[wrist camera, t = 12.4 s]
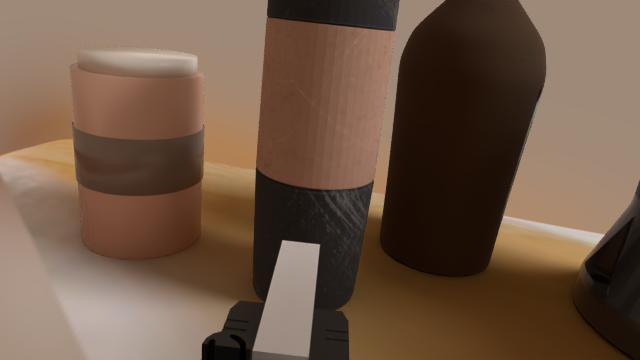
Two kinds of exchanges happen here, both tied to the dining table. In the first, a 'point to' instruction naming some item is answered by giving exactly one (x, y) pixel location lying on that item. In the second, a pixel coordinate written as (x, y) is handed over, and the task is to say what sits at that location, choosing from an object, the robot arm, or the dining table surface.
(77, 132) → the terracotta canister
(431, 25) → the olive oil
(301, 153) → the travel mug
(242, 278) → the dining table surface
